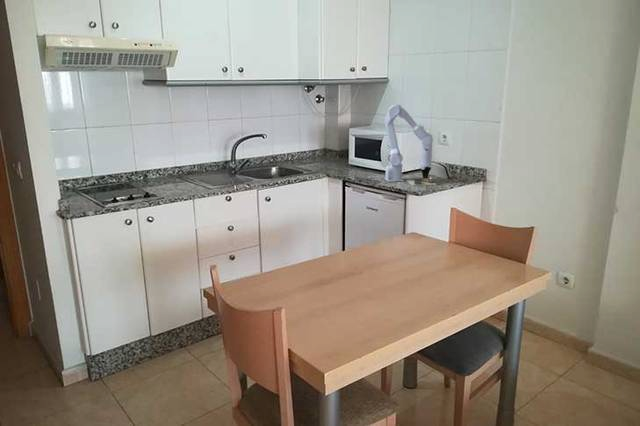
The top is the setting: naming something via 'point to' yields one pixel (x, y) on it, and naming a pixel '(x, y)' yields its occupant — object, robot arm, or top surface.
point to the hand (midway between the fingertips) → (425, 179)
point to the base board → (420, 184)
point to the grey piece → (440, 170)
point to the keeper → (417, 180)
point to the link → (427, 180)
